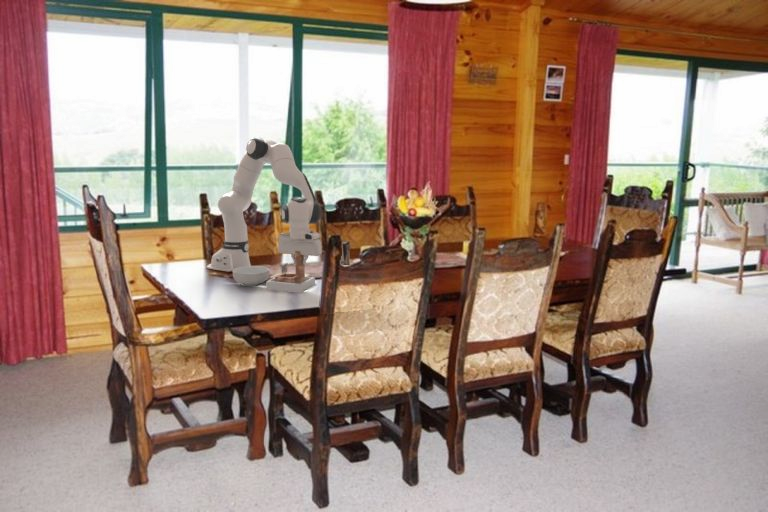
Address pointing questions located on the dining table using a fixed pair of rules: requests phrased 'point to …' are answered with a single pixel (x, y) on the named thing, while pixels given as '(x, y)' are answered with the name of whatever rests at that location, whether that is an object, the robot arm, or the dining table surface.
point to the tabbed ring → (299, 271)
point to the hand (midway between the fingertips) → (299, 264)
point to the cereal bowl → (251, 275)
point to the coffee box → (345, 253)
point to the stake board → (284, 271)
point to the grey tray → (290, 285)
